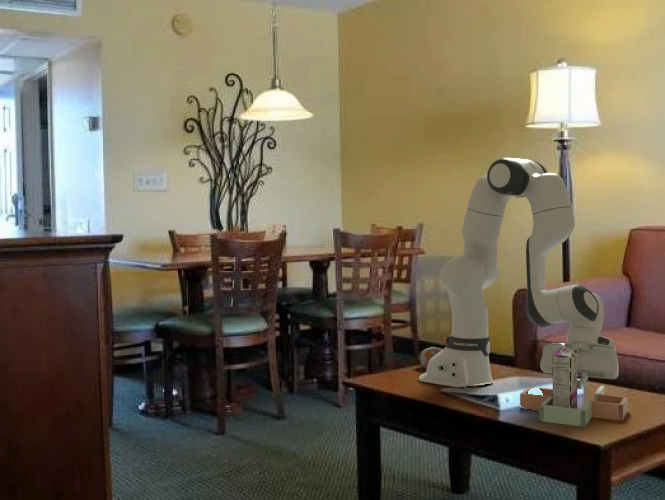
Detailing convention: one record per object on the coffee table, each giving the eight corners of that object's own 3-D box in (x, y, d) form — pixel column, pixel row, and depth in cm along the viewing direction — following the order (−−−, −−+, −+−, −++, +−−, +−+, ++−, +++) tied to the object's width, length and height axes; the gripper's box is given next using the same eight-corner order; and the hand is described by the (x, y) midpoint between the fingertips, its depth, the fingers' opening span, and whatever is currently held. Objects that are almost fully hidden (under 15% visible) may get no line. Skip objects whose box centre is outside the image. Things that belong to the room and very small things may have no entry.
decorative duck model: (418, 345, 273) (462, 344, 270) (418, 367, 272) (463, 367, 269) (413, 348, 258) (460, 348, 255) (414, 371, 258) (461, 371, 255)
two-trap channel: (509, 417, 203) (510, 402, 202) (537, 393, 229) (537, 379, 229) (616, 430, 191) (617, 414, 190) (633, 403, 217) (633, 389, 217)
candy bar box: (558, 408, 212) (559, 347, 211) (577, 410, 210) (578, 348, 209) (551, 418, 202) (551, 354, 201) (571, 420, 200) (572, 356, 199)
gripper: (542, 335, 221) (534, 377, 213) (620, 341, 212) (614, 384, 204) (546, 348, 225) (537, 390, 217) (622, 354, 216) (616, 398, 208)
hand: (575, 387), depth 210 cm, fingers closed, pressing on candy bar box
